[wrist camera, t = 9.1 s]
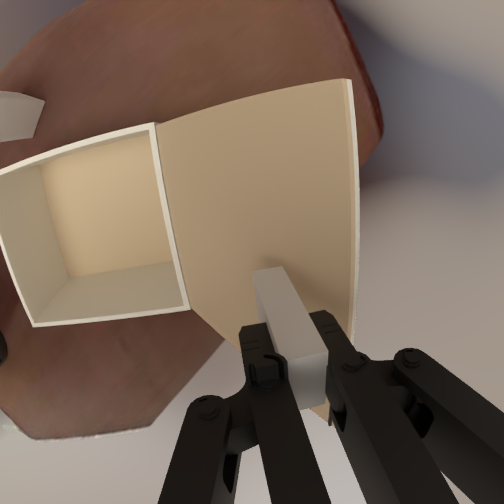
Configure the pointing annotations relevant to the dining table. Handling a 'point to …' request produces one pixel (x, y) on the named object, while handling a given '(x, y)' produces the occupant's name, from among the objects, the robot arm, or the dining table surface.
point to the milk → (18, 115)
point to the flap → (267, 202)
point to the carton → (92, 231)
